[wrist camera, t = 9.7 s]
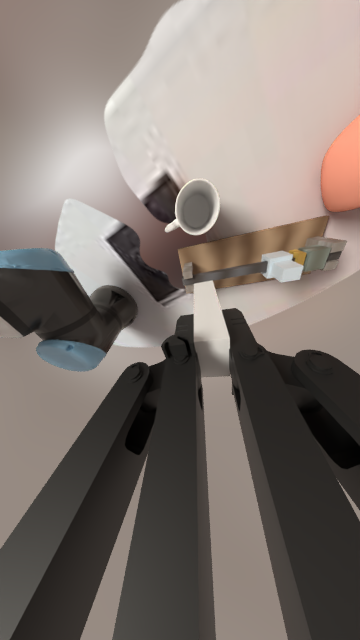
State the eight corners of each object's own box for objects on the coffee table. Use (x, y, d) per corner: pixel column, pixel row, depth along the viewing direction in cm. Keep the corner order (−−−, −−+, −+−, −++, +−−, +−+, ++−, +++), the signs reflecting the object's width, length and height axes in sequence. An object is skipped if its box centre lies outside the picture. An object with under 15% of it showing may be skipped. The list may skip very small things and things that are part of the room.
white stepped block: (259, 272, 32) (277, 287, 26) (262, 254, 30) (281, 265, 23) (278, 269, 32) (301, 283, 25) (282, 250, 29) (308, 260, 23)
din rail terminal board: (186, 291, 42) (185, 306, 35) (178, 249, 35) (174, 256, 28) (307, 272, 36) (334, 285, 29) (324, 215, 29) (366, 215, 22)
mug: (205, 183, 28) (210, 165, 18) (216, 219, 31) (226, 220, 22) (163, 212, 31) (149, 210, 22) (177, 242, 35) (170, 252, 25)
